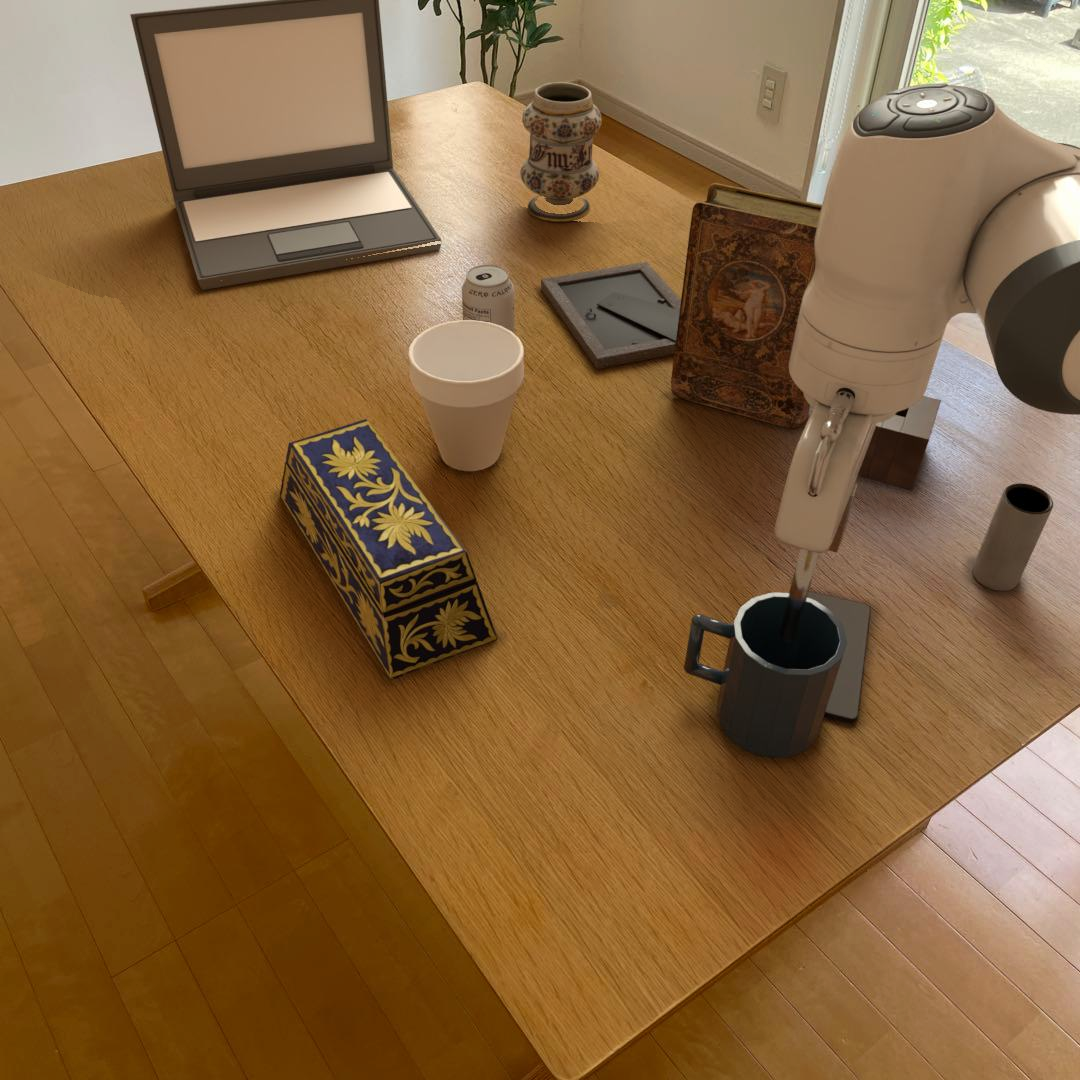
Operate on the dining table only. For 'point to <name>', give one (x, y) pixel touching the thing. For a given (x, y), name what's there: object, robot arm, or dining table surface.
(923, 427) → the utensil block
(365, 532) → the decorative box
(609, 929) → the dining table surface
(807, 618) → the grey coffee mug
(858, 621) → the smartphone
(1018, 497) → the grey hollow cylinder
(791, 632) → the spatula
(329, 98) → the laptop
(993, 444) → the dining table surface
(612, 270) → the picture frame
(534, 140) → the apothecary jar
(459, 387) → the cup
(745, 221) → the book
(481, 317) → the energy drink can
